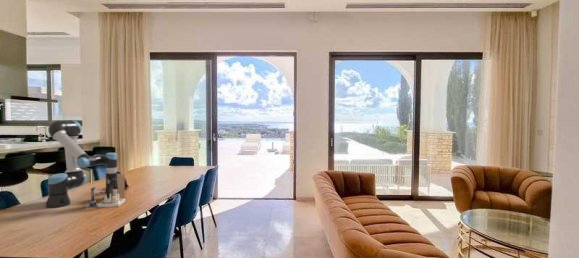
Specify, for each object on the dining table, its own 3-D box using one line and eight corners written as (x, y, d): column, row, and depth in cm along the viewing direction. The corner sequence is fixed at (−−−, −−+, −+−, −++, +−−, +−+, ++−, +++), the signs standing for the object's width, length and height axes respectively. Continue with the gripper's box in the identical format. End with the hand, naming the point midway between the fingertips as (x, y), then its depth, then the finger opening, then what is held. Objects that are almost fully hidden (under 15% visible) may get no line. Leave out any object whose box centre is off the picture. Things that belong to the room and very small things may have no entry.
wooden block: (124, 197, 259) (124, 173, 258) (117, 200, 249) (116, 176, 249) (113, 196, 260) (113, 173, 259) (105, 199, 250) (105, 175, 249)
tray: (97, 207, 230) (97, 204, 230) (105, 201, 245) (105, 199, 244) (119, 206, 233) (119, 203, 233) (125, 201, 248) (125, 198, 248)
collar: (115, 204, 236) (115, 196, 236) (101, 204, 234) (101, 197, 234) (119, 201, 244) (119, 194, 243) (105, 202, 242) (105, 194, 241)
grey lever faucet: (83, 207, 229) (83, 189, 228) (88, 204, 237) (88, 186, 237) (96, 207, 230) (96, 189, 230) (101, 203, 239) (101, 186, 239)
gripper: (111, 175, 226) (111, 204, 227) (122, 169, 251) (122, 195, 252) (99, 176, 225) (100, 204, 226) (112, 169, 249) (112, 195, 250)
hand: (111, 199), depth 239 cm, fingers open, 13 cm apart
